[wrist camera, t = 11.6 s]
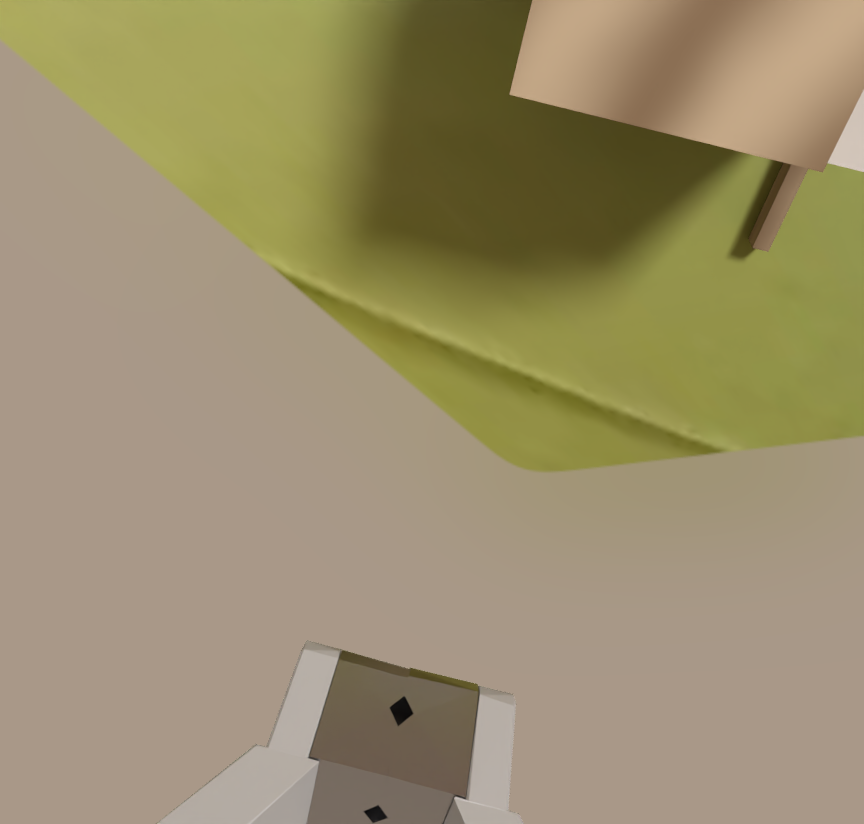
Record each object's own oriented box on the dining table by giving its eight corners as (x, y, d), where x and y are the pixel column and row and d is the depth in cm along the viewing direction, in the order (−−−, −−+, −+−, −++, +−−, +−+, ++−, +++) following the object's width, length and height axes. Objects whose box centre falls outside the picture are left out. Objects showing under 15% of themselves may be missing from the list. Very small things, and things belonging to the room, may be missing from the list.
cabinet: (495, 175, 40) (461, 292, 28) (637, -397, 28) (676, -596, 16) (790, 249, 40) (875, 397, 28) (1062, -297, 27) (1407, -427, 16)
